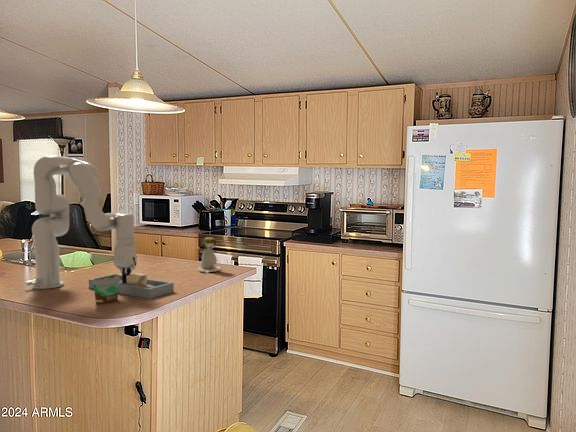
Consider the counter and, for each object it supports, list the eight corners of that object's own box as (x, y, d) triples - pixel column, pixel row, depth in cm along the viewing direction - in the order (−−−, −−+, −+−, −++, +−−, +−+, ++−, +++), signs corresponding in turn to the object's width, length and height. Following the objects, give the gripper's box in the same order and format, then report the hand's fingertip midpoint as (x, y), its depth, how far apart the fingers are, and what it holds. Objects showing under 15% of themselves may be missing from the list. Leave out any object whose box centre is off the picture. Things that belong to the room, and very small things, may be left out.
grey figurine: (196, 273, 236) (195, 238, 235) (200, 268, 249) (200, 235, 248) (218, 273, 236) (218, 238, 235) (222, 268, 249) (222, 235, 248)
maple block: (136, 288, 193) (136, 277, 192) (126, 286, 196) (126, 275, 195) (146, 285, 198) (146, 274, 198) (137, 284, 201) (137, 273, 201)
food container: (105, 306, 172) (104, 280, 171) (92, 304, 174) (92, 279, 174) (127, 298, 184) (127, 274, 183) (115, 297, 186) (115, 273, 185)
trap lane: (149, 298, 184) (149, 289, 183) (88, 287, 202) (88, 279, 202) (173, 291, 196) (173, 282, 196) (114, 282, 214) (114, 273, 214)
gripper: (106, 241, 199) (108, 281, 200) (130, 243, 192) (131, 285, 193) (120, 239, 206) (121, 278, 207) (143, 241, 198) (144, 282, 200)
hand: (126, 282), depth 200 cm, fingers closed
